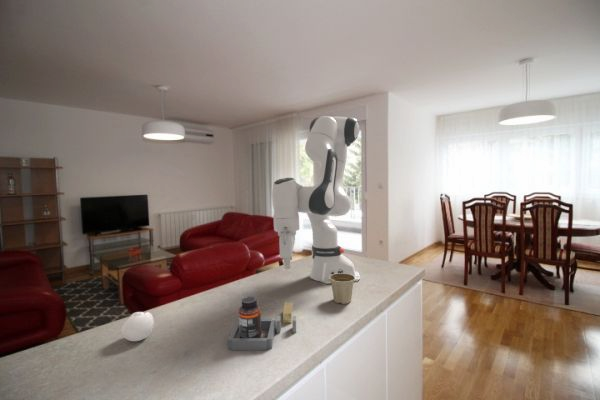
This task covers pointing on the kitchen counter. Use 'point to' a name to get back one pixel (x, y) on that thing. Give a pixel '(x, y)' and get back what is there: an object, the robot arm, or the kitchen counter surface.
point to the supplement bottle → (250, 318)
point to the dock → (257, 343)
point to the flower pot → (342, 287)
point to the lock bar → (287, 312)
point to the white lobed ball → (138, 326)
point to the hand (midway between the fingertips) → (288, 264)
